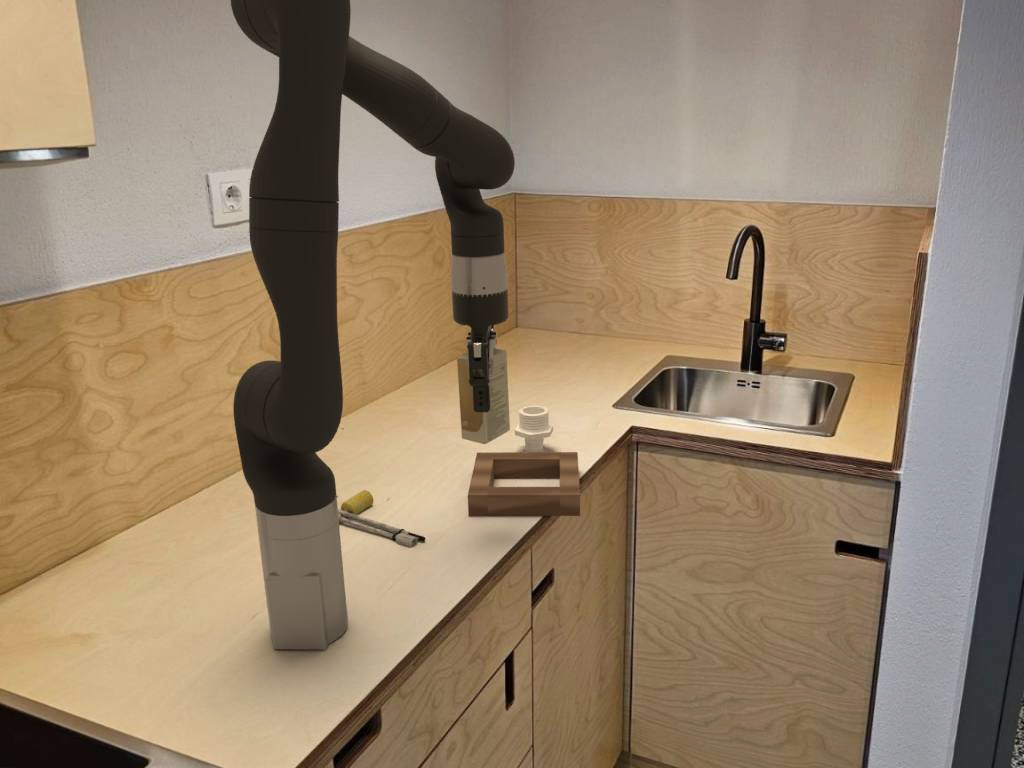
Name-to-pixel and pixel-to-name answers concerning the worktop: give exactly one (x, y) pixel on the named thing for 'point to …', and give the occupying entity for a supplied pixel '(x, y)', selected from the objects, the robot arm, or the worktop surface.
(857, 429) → the worktop surface
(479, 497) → the brown square open frame
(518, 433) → the pipe fitting
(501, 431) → the skincare box
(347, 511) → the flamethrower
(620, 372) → the worktop surface
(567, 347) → the worktop surface
